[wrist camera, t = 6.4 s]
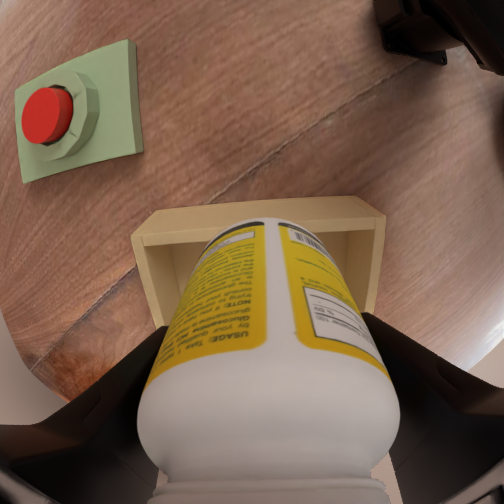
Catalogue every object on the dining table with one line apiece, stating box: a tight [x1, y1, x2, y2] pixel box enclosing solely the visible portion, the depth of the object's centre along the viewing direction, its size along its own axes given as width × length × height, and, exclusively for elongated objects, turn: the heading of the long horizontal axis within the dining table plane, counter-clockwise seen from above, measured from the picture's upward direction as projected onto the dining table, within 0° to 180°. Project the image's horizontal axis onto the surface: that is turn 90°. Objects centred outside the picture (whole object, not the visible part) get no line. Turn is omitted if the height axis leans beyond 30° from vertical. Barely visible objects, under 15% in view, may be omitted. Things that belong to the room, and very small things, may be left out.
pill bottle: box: [137, 217, 400, 504], centre depth 7 cm, size 6×6×11 cm
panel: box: [15, 39, 144, 184], centre depth 16 cm, size 12×9×4 cm
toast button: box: [21, 88, 73, 144], centre depth 14 cm, size 4×4×2 cm
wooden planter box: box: [130, 195, 386, 329], centre depth 20 cm, size 16×10×6 cm, turn 94°
